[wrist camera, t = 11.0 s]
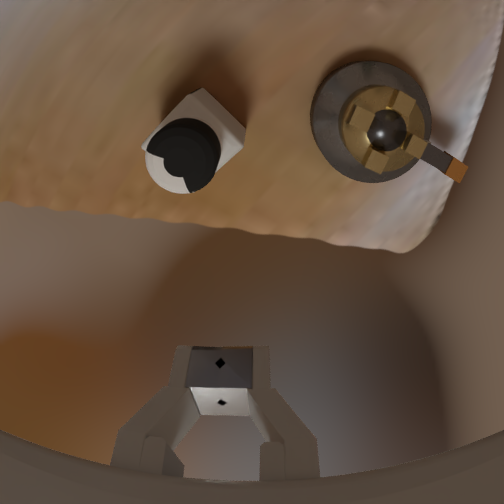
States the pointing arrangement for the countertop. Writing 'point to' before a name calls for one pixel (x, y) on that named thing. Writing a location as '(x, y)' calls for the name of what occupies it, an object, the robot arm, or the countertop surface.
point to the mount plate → (333, 98)
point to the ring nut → (389, 132)
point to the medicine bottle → (192, 143)
